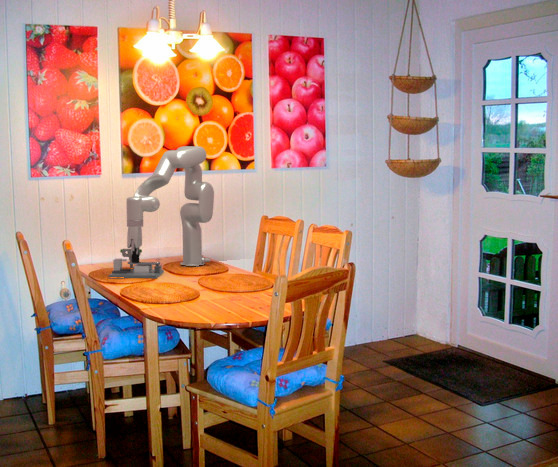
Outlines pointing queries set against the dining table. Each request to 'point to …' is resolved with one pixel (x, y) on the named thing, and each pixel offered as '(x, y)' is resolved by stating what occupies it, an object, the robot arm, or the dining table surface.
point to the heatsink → (142, 269)
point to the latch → (118, 264)
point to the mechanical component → (129, 254)
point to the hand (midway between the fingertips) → (135, 262)
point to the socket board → (130, 274)
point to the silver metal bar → (146, 263)
